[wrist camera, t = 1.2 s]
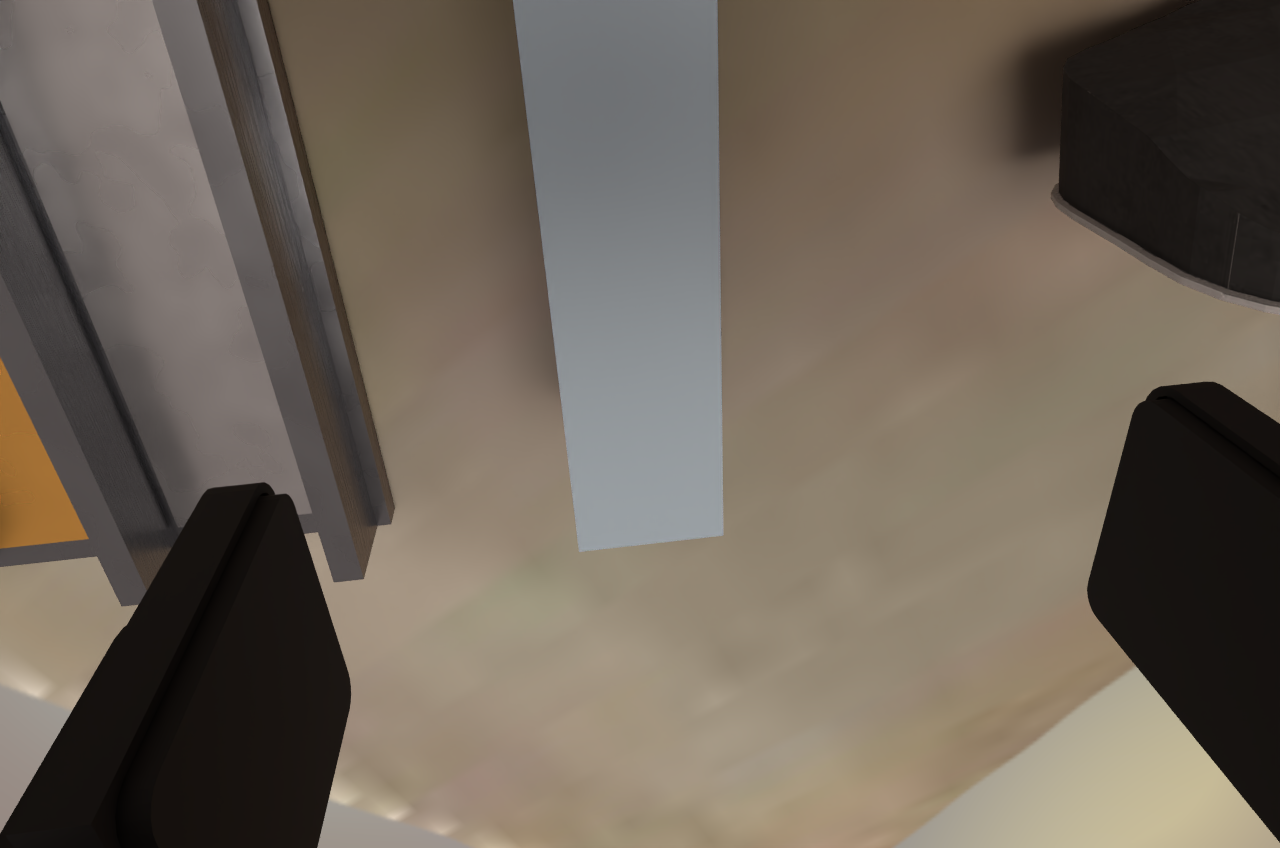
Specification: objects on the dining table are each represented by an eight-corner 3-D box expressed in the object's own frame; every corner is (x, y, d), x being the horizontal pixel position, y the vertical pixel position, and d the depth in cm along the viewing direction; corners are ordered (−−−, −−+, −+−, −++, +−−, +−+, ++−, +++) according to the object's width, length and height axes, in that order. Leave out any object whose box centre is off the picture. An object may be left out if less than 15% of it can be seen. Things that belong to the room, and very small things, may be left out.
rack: (-471, -164, 21) (-671, -179, 17) (216, -203, 22) (155, -225, 18) (-44, 555, 32) (-114, 632, 28) (395, 508, 33) (378, 577, 29)
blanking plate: (497, -218, 22) (478, -289, 14) (651, -227, 22) (714, -302, 15) (567, 395, 31) (579, 551, 24) (677, 384, 32) (723, 535, 24)
